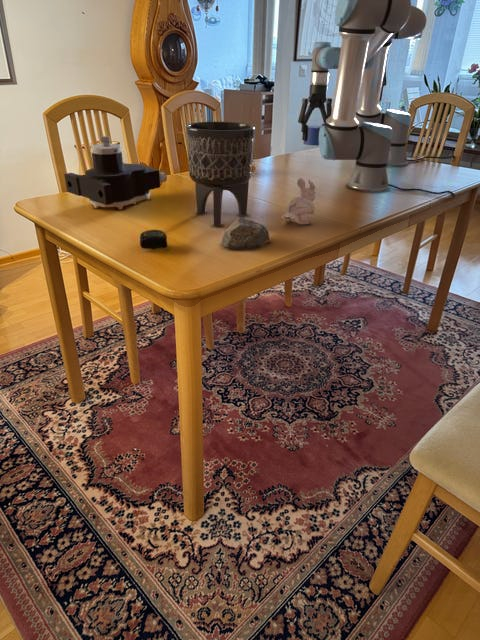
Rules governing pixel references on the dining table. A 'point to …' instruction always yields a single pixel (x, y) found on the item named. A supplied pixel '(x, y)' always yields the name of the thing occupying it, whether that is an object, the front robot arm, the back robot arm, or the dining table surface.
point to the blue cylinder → (312, 135)
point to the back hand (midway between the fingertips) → (372, 99)
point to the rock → (245, 234)
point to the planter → (220, 162)
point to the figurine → (301, 204)
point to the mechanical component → (113, 178)
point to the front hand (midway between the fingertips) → (313, 139)
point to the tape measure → (153, 239)
